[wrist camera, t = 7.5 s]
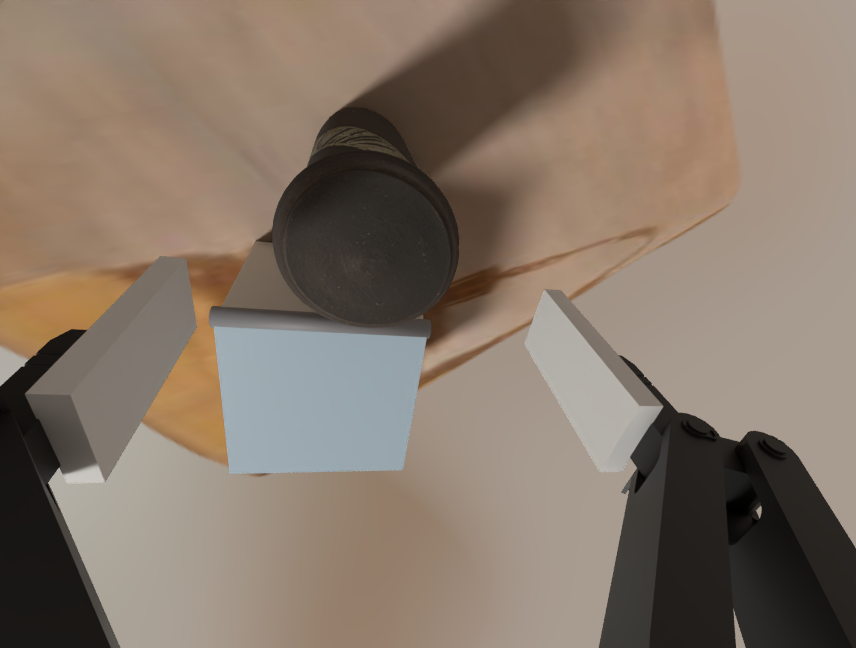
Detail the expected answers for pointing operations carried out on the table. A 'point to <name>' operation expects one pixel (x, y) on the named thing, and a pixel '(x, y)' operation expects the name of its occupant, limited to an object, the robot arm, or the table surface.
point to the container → (365, 227)
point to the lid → (315, 390)
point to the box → (263, 284)
